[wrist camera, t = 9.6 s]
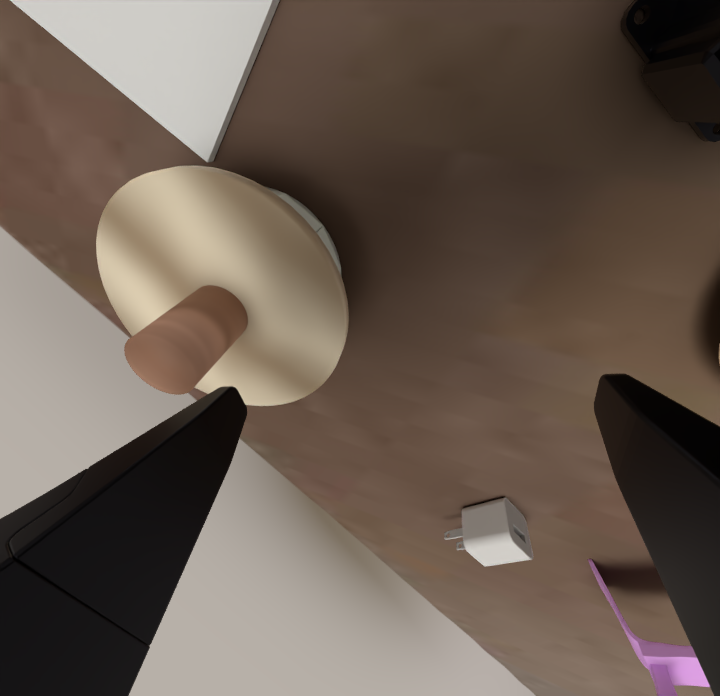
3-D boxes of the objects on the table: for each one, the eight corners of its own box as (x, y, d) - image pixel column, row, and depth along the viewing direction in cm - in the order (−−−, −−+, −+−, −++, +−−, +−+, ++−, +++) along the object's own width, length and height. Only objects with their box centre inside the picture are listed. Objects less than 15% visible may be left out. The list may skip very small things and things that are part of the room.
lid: (148, 86, 13) (-8, 72, 8) (403, 299, 16) (388, 372, 11) (93, 306, 20) (-6, 362, 15) (275, 424, 23) (235, 498, 18)
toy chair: (706, 591, 33) (861, 870, 21) (602, 591, 36) (681, 827, 24) (698, 547, 29) (878, 851, 17) (585, 553, 33) (667, 805, 21)
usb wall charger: (525, 517, 32) (534, 562, 28) (461, 531, 35) (463, 573, 32) (502, 494, 30) (510, 539, 27) (438, 511, 34) (438, 552, 31)
